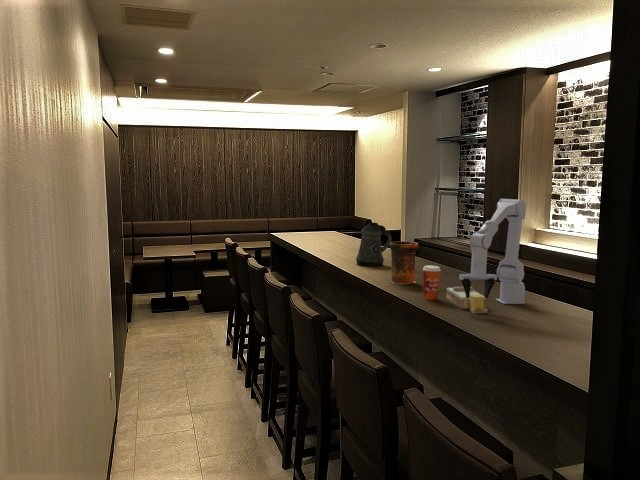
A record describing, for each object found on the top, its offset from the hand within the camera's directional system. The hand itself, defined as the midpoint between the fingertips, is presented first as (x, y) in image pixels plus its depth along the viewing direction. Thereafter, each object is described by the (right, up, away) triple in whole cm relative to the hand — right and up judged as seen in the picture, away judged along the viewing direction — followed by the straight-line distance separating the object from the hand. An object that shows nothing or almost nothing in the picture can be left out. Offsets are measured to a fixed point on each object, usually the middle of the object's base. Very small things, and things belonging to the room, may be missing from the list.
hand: (476, 297), depth 208 cm
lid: (-1, 0, +12) cm, 12 cm away
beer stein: (-31, +8, +106) cm, 111 cm away
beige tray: (-1, -4, +9) cm, 10 cm away
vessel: (-21, +2, +55) cm, 59 cm away
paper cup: (-14, -3, +20) cm, 25 cm away
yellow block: (0, -5, +1) cm, 5 cm away
